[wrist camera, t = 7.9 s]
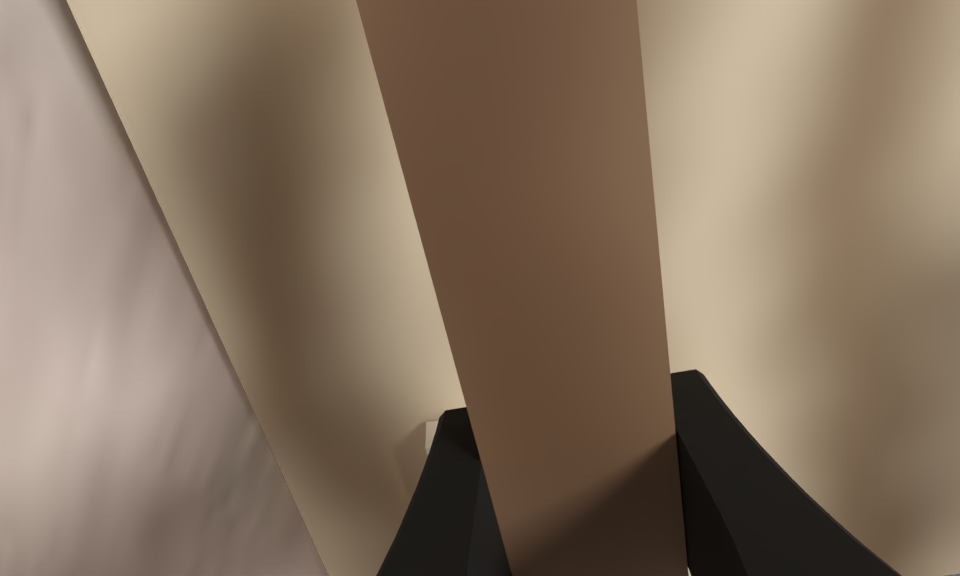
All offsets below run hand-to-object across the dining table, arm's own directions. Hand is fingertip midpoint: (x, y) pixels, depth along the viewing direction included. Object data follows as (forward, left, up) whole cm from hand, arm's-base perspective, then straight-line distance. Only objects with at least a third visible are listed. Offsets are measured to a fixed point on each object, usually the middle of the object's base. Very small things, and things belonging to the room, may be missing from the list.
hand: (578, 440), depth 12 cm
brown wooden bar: (0, 0, -2) cm, 2 cm away
